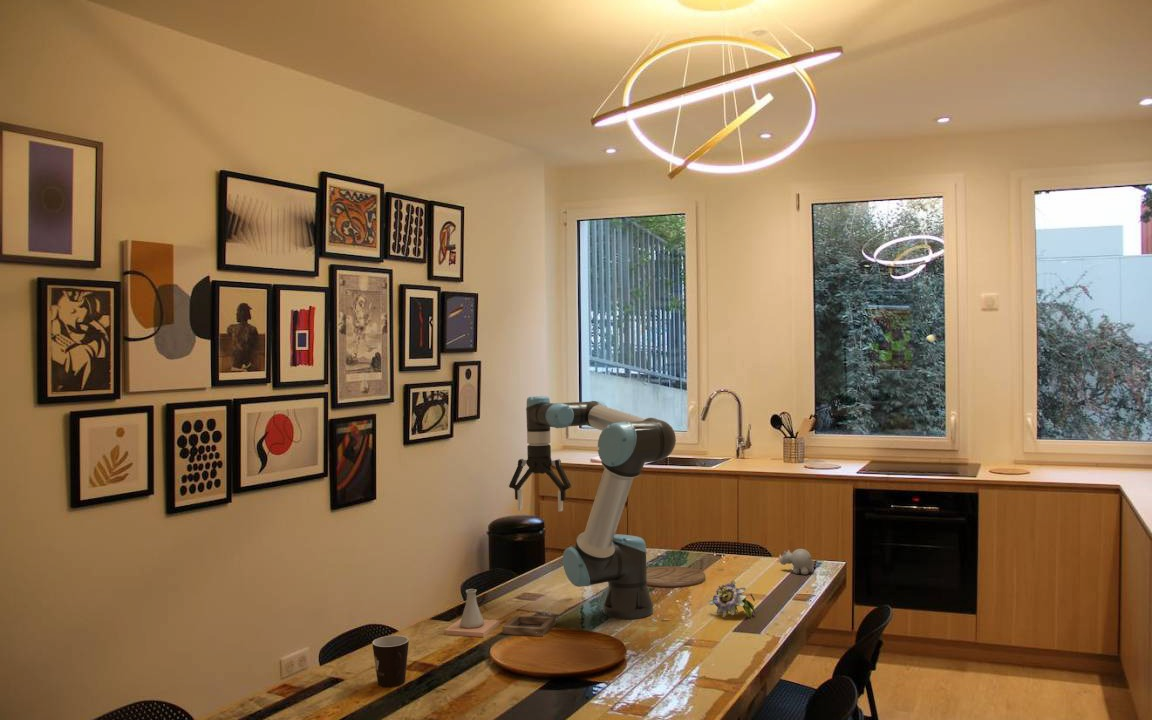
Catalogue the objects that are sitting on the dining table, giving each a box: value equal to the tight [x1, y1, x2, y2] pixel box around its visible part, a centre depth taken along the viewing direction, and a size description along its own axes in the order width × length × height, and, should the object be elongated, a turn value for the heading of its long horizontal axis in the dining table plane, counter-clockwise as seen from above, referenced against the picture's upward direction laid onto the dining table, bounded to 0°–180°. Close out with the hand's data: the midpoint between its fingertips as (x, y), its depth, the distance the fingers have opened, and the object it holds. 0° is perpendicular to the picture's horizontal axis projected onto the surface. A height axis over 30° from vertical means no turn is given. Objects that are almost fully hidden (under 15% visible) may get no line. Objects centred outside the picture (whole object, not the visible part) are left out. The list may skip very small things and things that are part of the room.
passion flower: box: [707, 579, 756, 619], centre depth 262 cm, size 11×11×12 cm
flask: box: [460, 588, 484, 628], centre depth 253 cm, size 7×7×10 cm
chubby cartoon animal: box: [779, 548, 814, 576], centre depth 312 cm, size 7×12×8 cm, turn 48°
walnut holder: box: [501, 614, 557, 637], centre depth 252 cm, size 12×12×2 cm
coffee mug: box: [372, 635, 410, 689], centre depth 210 cm, size 12×9×10 cm
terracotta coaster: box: [443, 618, 500, 638], centre depth 253 cm, size 12×12×1 cm
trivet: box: [646, 565, 706, 589], centre depth 307 cm, size 25×25×2 cm
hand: (540, 510), depth 283 cm, fingers open, 13 cm apart
